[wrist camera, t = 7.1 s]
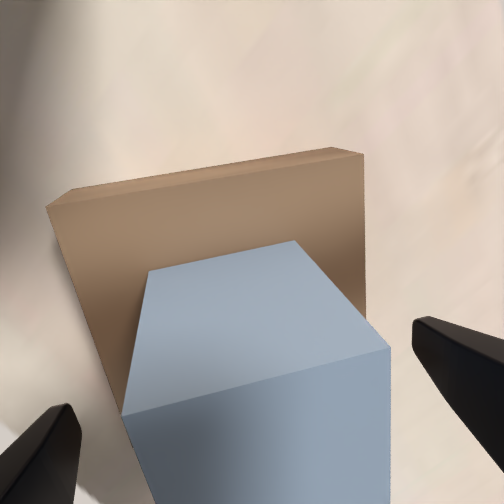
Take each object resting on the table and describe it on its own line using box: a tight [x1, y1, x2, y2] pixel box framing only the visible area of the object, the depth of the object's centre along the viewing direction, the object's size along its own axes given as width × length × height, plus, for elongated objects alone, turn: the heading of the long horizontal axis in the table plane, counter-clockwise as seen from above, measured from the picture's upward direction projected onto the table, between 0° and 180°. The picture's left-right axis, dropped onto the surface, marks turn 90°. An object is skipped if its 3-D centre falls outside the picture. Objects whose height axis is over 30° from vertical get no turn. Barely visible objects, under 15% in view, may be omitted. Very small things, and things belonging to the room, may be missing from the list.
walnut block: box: [46, 147, 366, 448], centre depth 13 cm, size 9×9×3 cm
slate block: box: [121, 240, 391, 504], centre depth 9 cm, size 4×4×6 cm
